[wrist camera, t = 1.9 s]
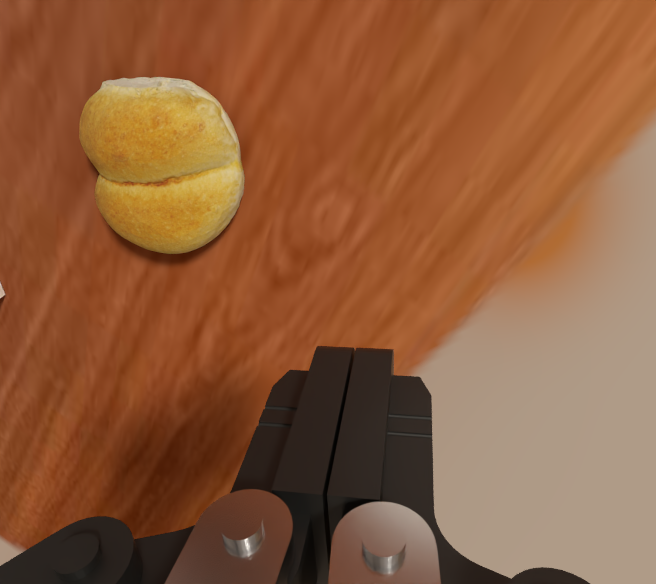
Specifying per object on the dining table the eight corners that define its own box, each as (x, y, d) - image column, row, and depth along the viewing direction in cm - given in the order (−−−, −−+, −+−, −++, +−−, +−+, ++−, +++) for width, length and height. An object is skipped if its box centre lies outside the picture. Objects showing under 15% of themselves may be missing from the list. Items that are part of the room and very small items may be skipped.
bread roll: (121, 237, 31) (83, 266, 27) (86, 74, 26) (35, 84, 23) (255, 245, 29) (233, 277, 26) (242, 77, 25) (213, 88, 22)
